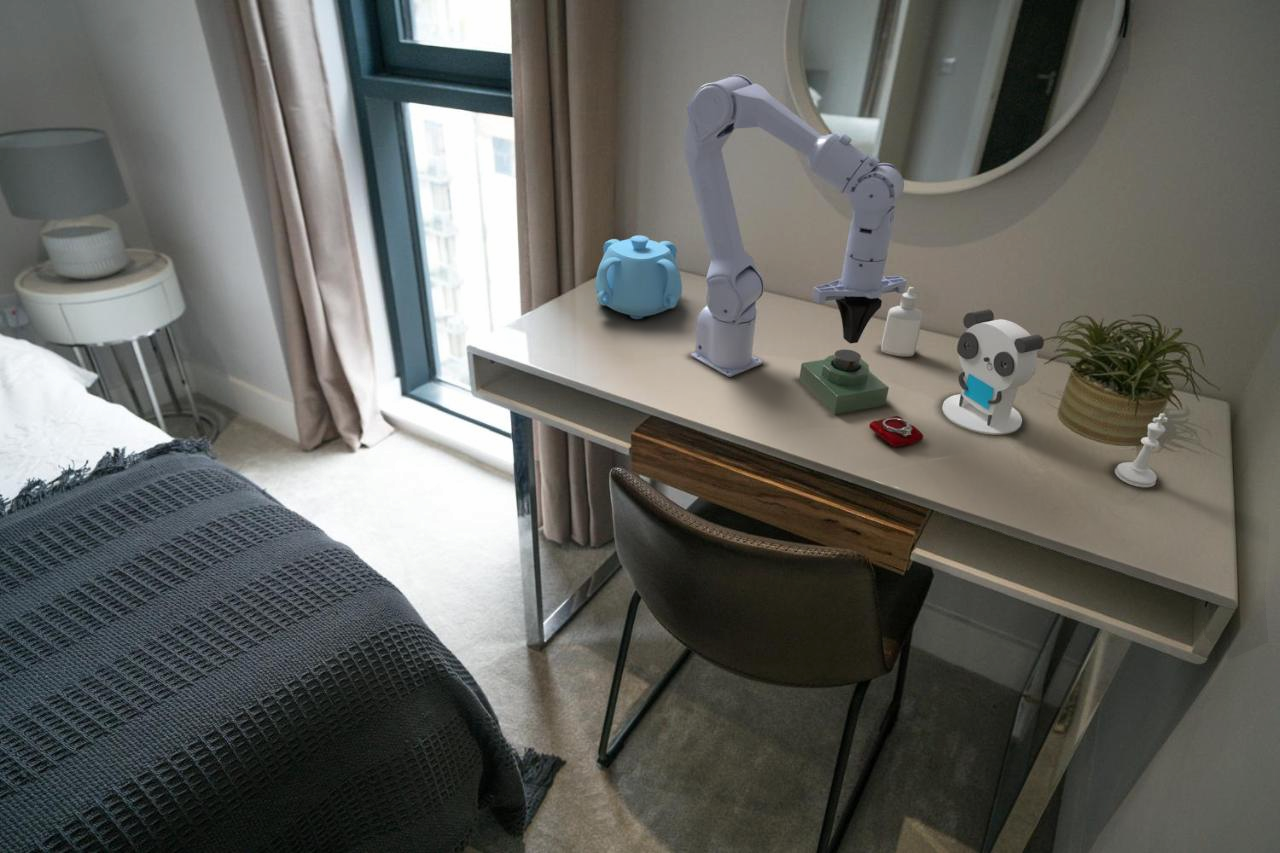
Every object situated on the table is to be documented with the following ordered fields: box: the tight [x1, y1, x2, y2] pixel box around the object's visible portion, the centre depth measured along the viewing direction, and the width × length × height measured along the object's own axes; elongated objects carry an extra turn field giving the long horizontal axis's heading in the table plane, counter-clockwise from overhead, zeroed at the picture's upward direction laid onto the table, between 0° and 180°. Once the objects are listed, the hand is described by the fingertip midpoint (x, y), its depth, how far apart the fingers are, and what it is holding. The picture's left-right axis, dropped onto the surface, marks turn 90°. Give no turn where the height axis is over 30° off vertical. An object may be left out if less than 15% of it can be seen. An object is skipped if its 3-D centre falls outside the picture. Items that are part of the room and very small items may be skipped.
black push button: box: [833, 348, 862, 372], centre depth 121 cm, size 4×4×2 cm
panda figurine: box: [941, 308, 1045, 436], centre depth 116 cm, size 12×11×15 cm
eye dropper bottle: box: [880, 286, 923, 358], centre depth 133 cm, size 4×6×12 cm
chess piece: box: [1114, 412, 1169, 488], centre depth 104 cm, size 5×5×10 cm
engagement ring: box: [868, 415, 924, 448], centre depth 113 cm, size 6×6×3 cm
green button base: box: [798, 354, 890, 415], centre depth 123 cm, size 11×9×5 cm
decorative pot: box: [594, 235, 683, 320], centre depth 147 cm, size 16×16×14 cm
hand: (850, 340), depth 119 cm, fingers closed
